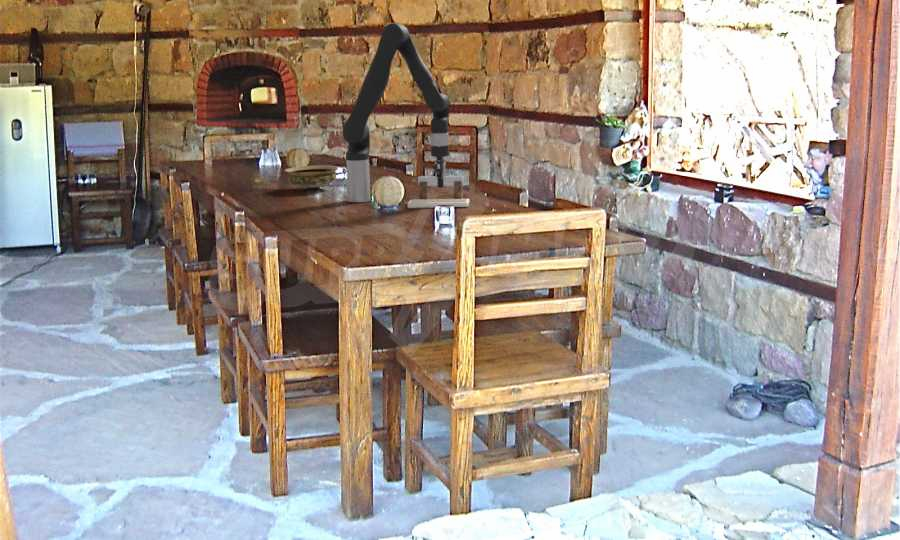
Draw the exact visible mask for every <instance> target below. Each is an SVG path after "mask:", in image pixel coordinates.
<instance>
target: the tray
mask: <svg viewBox="0 0 900 540" xmlns="http://www.w3.org/2000/svg"><path fill="white" fill-rule="evenodd" d="M469 203H471V202H470V198H463V199H454V198H429V199H420V198H417V199H410V200H409V201H408V202H407V209H435V208H434V207H435V206H438V205H453V206H455V207H468V208H469V206H468V205H470V204H469Z"/></svg>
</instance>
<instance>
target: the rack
mask: <svg viewBox="0 0 900 540" xmlns="http://www.w3.org/2000/svg"><path fill="white" fill-rule="evenodd" d="M463 186H464V185H463ZM463 186H461V182H454V186H453V199H464V187H463ZM418 187H419V188H418V190H419V191H418V193H419V199H430V192H429V190H430V189H429V187H430V186H427V182H419V186H418Z"/></svg>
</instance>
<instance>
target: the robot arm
mask: <svg viewBox="0 0 900 540" xmlns="http://www.w3.org/2000/svg"><path fill="white" fill-rule="evenodd" d="M412 39H413V38H412V37H411V34H410V32H409V29H408V28H407V27H406V26H405V25H403V24H402V23H397V22H396V23H395V22H393V23H392V22H391V23H388V24H387V25H386V26H384V28H383V29H382V32H381V35H380V38H379V42H378V45H377V49H376V52H375V55H374V57H373V58H372V60H371V62H370V66H369V68H368V69H367V70H368V71H367V73H366V74H365V76H364V79H363V82H362V84H361V87H360V90H359V92H358V95H357V98H356V101H355V104H354V106H353V108H352V111H351V113H350V114H349V117H348V118H347V120H346V122H345V124H344V125H343V127H342V138H343V139H344V141H345V142H347V143H348V148H347V151H346V153H345V158H346V179H345V185H346V202H349V203H365V202H370V201H371V181H370V160H369V159H370V156H369V155H370V150H371V143H370V142H371V140H370V139H371V136H370V135H371V134H370V128H369V125H368V124H367V123H368V121H369V119H370V116H371V114H372V112H373V110H375V108H376V106H377V105H378V104H379V103H380V101H381V99H382V97H383V95H384V93H385V91H386V89H387V87H388V83H389V82H390V81H389V80H390V74H391V68H392V62H393V59H394V57H395V55H396V53H397V51H398V52H399V53H400V54H401V56H402V57H403V59H404V61H405V62H406V66H407V68H408V70H409V73H410V75H411V77H412V79H413V81H414V82H415V84H416V85H417V88H418V89H419V90H420V92H421V94H422V96H423V99H424V102H425V104H426V105H427V107H428V109H430V110H431V111H432V113H433V114H432V118H431V120H430V137H429V138H430V141H429V142H430V156H431V157H432V158H433V157H434V158H436V160H435V161H434V166H435V176H436V177H437V178H438V179H437V180H438V186H437V188H439V189H442V188H444V186H443V176H446V164H447V162H446V159H445V157H449V156H450V136H449V117H450V105H451V104H450V99H449V97H448V96H447V95H446V94H444V93H440V91H439V89H438V88H437V82H436V79H435V78H434V76H433V75H432V73H431V72H430V70H429V69H428V67H427V65H426V64H425V62H424V61H423V59H422V57H421V56H420V54H419V51H418V50H417V47H416V46H415V43H414V42H413V40H412Z"/></svg>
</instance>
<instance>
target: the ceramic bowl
mask: <svg viewBox="0 0 900 540" xmlns="http://www.w3.org/2000/svg"><path fill="white" fill-rule="evenodd" d="M338 169H339V167H338V166H336V165H329V164H328V165H327V164H326V165H325V164H324V165H322V164H321V165H307V166H306V165H305V166H304V165H303V166H295V167H290V168H285V170H284V172H285V173H287V179H288V182H289V183H291V184H292V185H293V186H295V187H298V188H305V189H304V190H306V191H305V192H316V191H315V190H320V191H322V190H321V189H322V188H321V187H325V186H327V185H330V184H331V183H334V181H335V180H336V178H337V173H336V171H338Z"/></svg>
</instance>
